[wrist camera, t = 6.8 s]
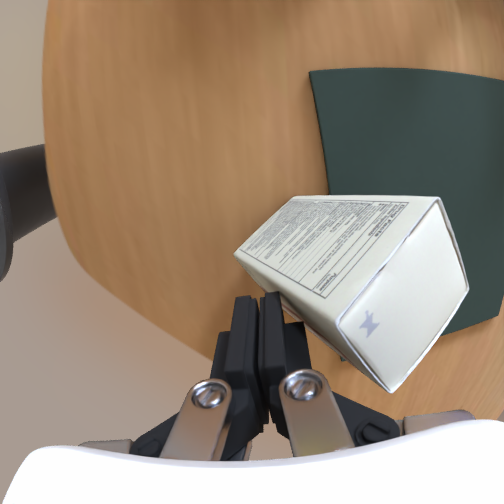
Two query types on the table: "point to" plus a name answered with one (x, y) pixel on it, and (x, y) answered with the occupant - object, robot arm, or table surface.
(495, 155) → the mat
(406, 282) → the printed medicine box
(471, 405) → the table surface
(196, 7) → the table surface
